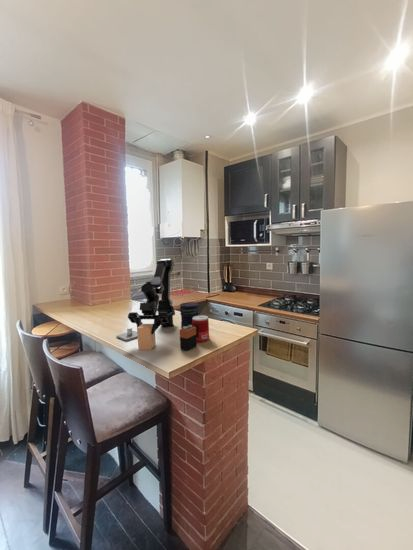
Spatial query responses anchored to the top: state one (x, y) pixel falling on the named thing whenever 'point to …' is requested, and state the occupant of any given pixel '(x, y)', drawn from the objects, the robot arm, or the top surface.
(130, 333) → the peg stand
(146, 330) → the wooden block
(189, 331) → the battery
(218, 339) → the top surface
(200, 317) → the canned food
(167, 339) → the top surface
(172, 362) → the top surface
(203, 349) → the top surface
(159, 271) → the robot arm
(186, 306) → the storage jar
